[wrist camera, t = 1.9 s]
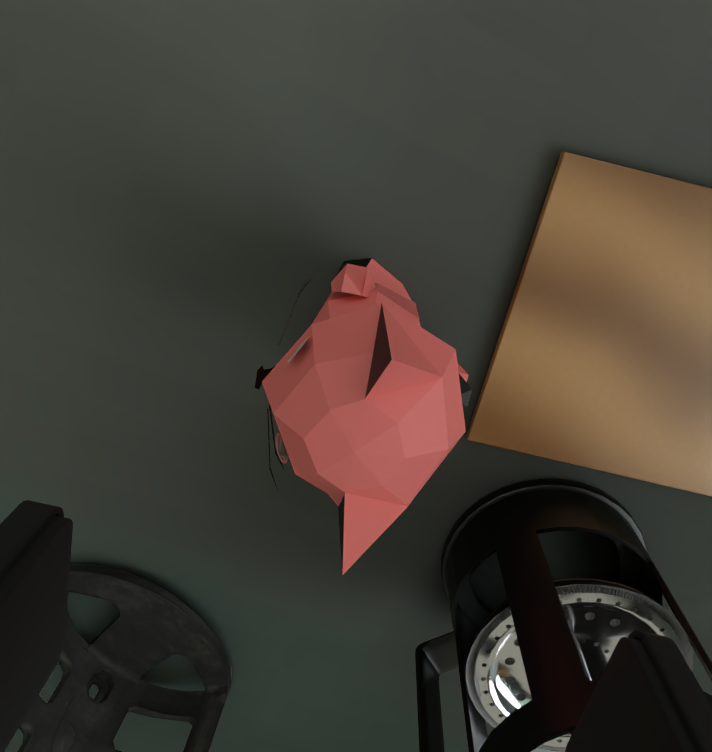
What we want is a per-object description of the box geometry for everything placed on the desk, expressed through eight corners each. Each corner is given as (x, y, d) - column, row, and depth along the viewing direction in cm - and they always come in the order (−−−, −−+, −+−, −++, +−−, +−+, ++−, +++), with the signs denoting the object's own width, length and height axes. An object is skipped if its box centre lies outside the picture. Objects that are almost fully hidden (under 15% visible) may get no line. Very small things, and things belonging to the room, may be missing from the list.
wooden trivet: (561, 150, 23) (564, 151, 23) (921, 241, 24) (932, 243, 23) (465, 434, 28) (466, 440, 27) (770, 505, 28) (776, 512, 28)
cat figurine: (307, 220, 25) (238, 303, 14) (480, 255, 25) (552, 365, 14) (281, 384, 27) (205, 567, 16) (437, 415, 27) (468, 617, 16)
